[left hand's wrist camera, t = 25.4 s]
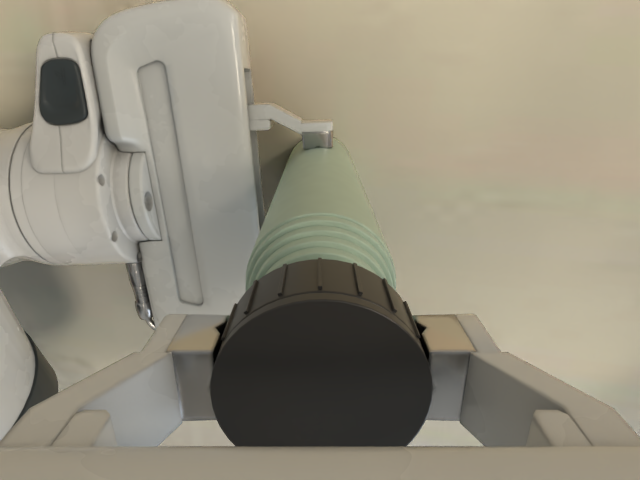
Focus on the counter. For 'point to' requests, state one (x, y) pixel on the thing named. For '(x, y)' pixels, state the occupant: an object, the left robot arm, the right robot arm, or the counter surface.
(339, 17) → the counter surface
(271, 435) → the cap
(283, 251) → the bottle
